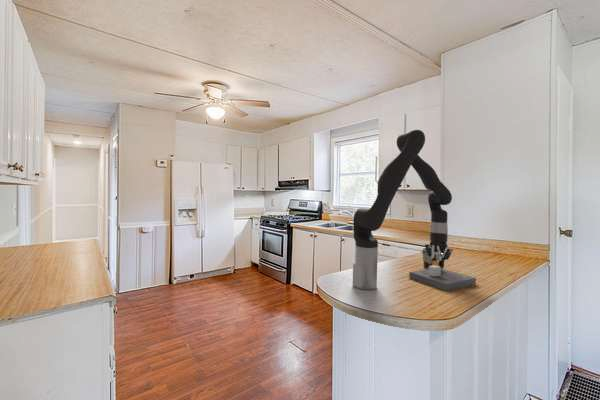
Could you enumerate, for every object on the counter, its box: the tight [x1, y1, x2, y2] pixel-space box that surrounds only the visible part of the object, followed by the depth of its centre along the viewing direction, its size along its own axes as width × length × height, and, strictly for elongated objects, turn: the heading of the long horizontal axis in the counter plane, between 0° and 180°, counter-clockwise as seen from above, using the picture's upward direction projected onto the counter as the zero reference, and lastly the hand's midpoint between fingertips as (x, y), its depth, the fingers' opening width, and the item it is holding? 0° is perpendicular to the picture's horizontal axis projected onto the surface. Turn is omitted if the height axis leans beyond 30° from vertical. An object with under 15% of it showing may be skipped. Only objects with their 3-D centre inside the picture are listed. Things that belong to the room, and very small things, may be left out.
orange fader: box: [432, 260, 444, 270], centre depth 134 cm, size 4×3×4 cm
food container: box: [421, 247, 446, 269], centre depth 152 cm, size 12×6×10 cm, turn 84°
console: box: [408, 268, 477, 292], centre depth 127 cm, size 20×19×3 cm
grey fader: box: [428, 265, 441, 277], centre depth 124 cm, size 4×3×4 cm
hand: (437, 266), depth 134 cm, fingers closed on orange fader, 3 cm apart
